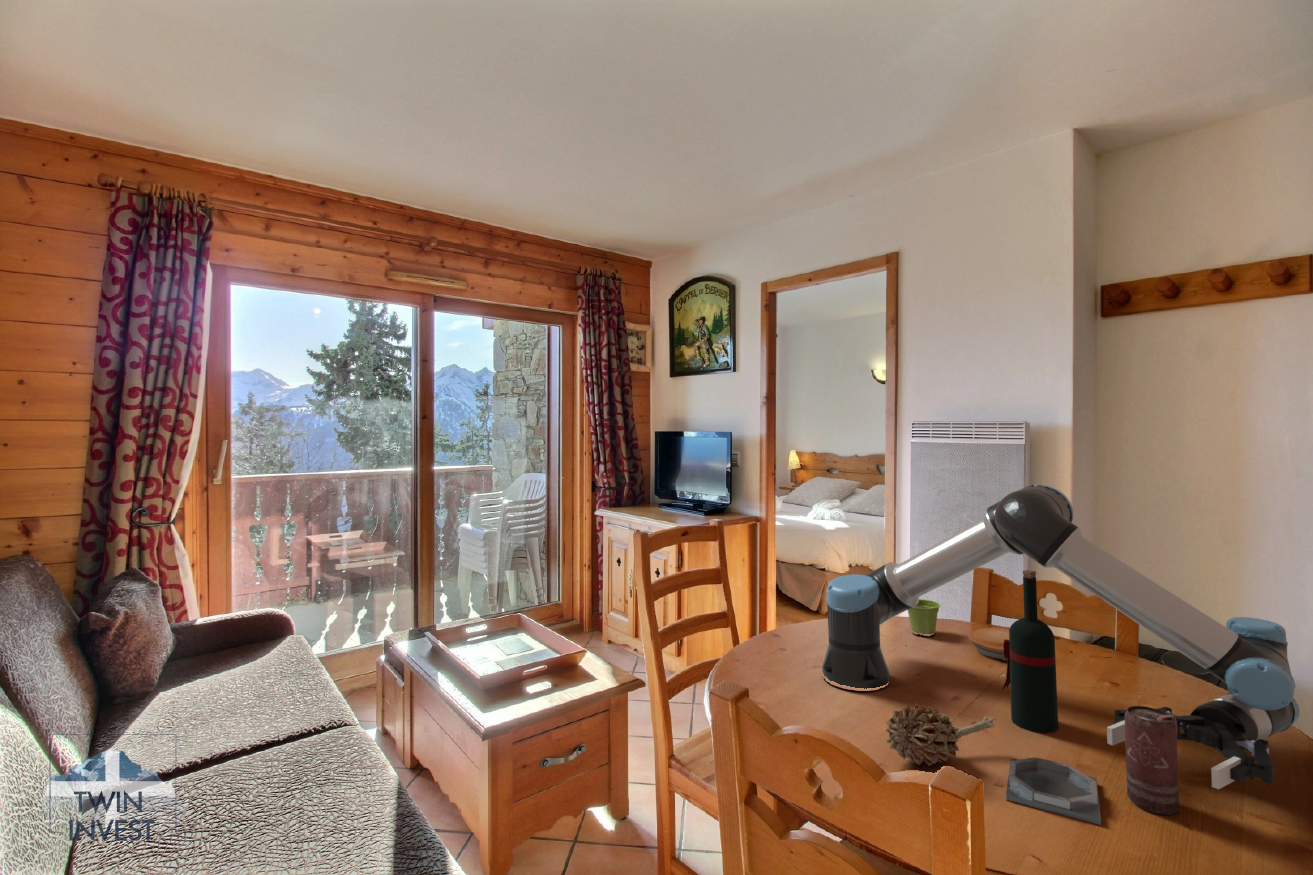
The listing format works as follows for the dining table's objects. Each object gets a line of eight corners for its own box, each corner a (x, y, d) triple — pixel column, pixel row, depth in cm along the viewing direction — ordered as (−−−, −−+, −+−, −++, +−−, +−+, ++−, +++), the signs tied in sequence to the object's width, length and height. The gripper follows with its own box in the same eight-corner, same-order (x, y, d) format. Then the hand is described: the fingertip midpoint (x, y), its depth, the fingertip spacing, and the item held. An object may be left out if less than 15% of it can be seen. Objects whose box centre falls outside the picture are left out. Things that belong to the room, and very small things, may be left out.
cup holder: (1006, 800, 94) (1005, 786, 94) (1011, 763, 104) (1010, 750, 104) (1101, 825, 87) (1100, 810, 87) (1096, 783, 97) (1096, 770, 97)
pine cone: (911, 785, 99) (909, 726, 99) (873, 756, 108) (871, 702, 108) (1012, 758, 106) (1010, 702, 106) (968, 732, 115) (966, 681, 115)
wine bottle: (1018, 705, 125) (1013, 562, 125) (1067, 727, 116) (1062, 572, 115) (991, 714, 122) (986, 567, 122) (1040, 736, 113) (1035, 577, 112)
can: (1191, 818, 88) (1187, 723, 88) (1141, 814, 90) (1138, 721, 89) (1165, 793, 94) (1162, 705, 94) (1119, 790, 96) (1116, 703, 95)
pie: (981, 638, 165) (980, 620, 165) (1046, 652, 154) (1045, 632, 154) (959, 653, 155) (958, 634, 155) (1026, 669, 143) (1026, 648, 143)
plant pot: (899, 629, 175) (898, 599, 175) (930, 627, 175) (929, 597, 175) (915, 640, 165) (914, 609, 165) (948, 638, 166) (947, 606, 166)
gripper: (1337, 784, 89) (1269, 827, 80) (1144, 715, 112) (1074, 743, 103) (1336, 733, 89) (1267, 772, 80) (1142, 675, 112) (1072, 699, 103)
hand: (1158, 756), depth 92 cm, fingers open, 13 cm apart
